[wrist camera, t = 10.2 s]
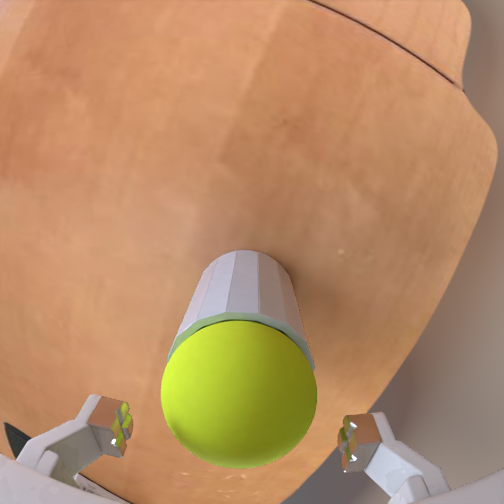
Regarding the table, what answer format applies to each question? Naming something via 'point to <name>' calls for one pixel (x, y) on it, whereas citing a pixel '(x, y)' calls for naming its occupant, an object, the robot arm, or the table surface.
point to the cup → (245, 298)
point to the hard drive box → (95, 488)
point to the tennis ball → (238, 394)
